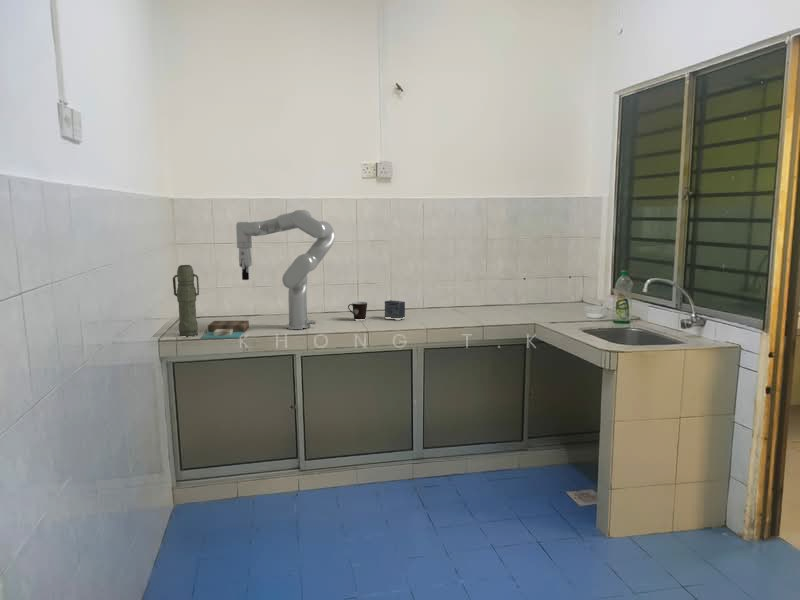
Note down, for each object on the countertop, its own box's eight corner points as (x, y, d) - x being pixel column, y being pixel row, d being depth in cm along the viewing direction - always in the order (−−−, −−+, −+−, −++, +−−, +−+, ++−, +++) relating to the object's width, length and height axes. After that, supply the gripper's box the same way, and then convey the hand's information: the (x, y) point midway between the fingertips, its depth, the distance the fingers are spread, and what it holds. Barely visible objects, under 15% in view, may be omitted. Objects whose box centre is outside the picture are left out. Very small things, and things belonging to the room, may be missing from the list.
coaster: (229, 331, 279) (230, 335, 279) (232, 329, 285) (232, 332, 285) (213, 331, 279) (213, 335, 279) (216, 329, 285) (216, 333, 285)
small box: (405, 319, 327) (405, 301, 326) (399, 321, 322) (399, 302, 320) (390, 317, 333) (390, 299, 331) (384, 319, 327) (384, 301, 326)
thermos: (176, 333, 285) (172, 264, 280) (201, 332, 289) (197, 264, 283) (175, 337, 277) (171, 266, 271) (200, 336, 281) (197, 265, 275)
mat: (243, 332, 288) (243, 331, 288) (238, 338, 276) (238, 337, 276) (208, 333, 287) (207, 332, 287) (201, 338, 275) (201, 337, 275)
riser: (248, 327, 301) (248, 320, 300) (244, 332, 289) (243, 325, 288) (214, 328, 299) (214, 320, 299) (208, 333, 288) (207, 325, 287)
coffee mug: (370, 320, 323) (370, 303, 321) (357, 322, 318) (356, 304, 316) (359, 317, 332) (359, 300, 331) (347, 318, 327) (346, 301, 326)
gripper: (248, 246, 292) (249, 281, 295) (254, 244, 307) (255, 278, 310) (233, 246, 292) (235, 281, 295) (240, 244, 307) (241, 278, 310)
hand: (245, 279), depth 302 cm, fingers closed
